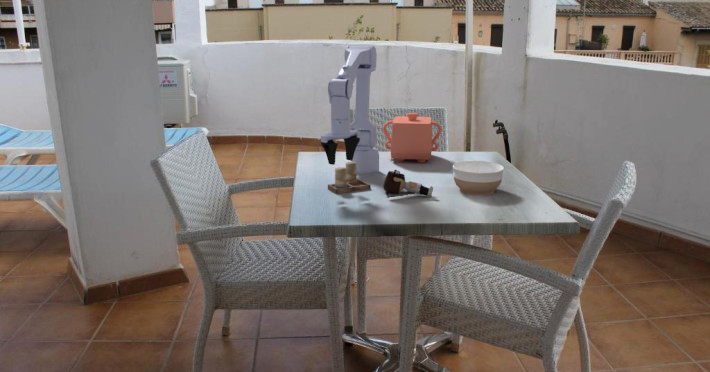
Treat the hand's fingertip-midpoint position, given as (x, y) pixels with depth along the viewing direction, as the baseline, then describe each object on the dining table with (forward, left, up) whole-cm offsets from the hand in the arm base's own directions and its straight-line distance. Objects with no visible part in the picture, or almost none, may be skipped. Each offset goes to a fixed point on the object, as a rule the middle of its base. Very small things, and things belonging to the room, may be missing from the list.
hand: (340, 162), depth 187 cm
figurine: (-17, +13, -10) cm, 23 cm away
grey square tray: (-7, -7, -10) cm, 14 cm away
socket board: (-3, 0, -10) cm, 10 cm away
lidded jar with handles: (-47, -34, -10) cm, 59 cm away
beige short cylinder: (-7, -7, -9) cm, 13 cm away
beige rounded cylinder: (0, 0, -9) cm, 9 cm away
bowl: (-40, +17, -10) cm, 45 cm away
